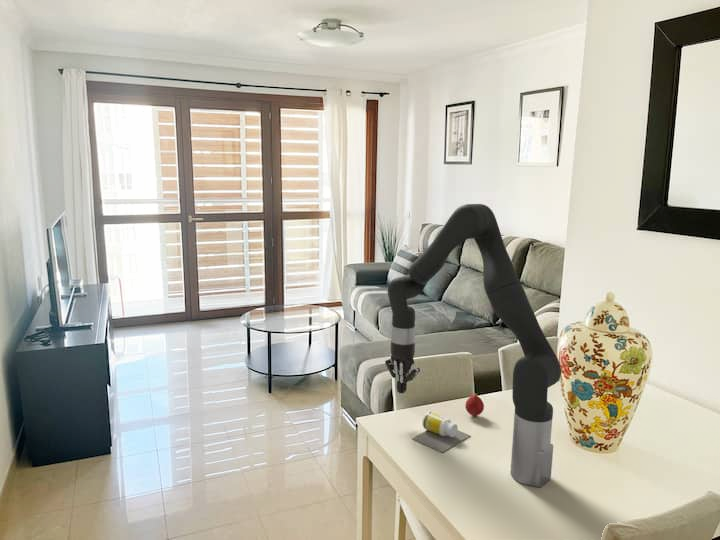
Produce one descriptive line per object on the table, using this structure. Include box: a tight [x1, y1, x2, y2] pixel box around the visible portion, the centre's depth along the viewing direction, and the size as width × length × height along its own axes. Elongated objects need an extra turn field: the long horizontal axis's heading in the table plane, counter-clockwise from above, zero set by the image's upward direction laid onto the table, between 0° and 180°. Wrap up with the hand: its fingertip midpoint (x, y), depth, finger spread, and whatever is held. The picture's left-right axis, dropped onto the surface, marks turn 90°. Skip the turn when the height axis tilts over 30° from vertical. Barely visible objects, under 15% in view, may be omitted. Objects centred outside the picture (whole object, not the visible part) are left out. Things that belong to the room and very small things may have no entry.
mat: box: [411, 429, 471, 454], centre depth 156 cm, size 11×14×1 cm
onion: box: [465, 393, 485, 418], centre depth 169 cm, size 6×6×8 cm
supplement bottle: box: [422, 411, 459, 437], centre depth 158 cm, size 5×5×10 cm
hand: (401, 392), depth 166 cm, fingers closed
